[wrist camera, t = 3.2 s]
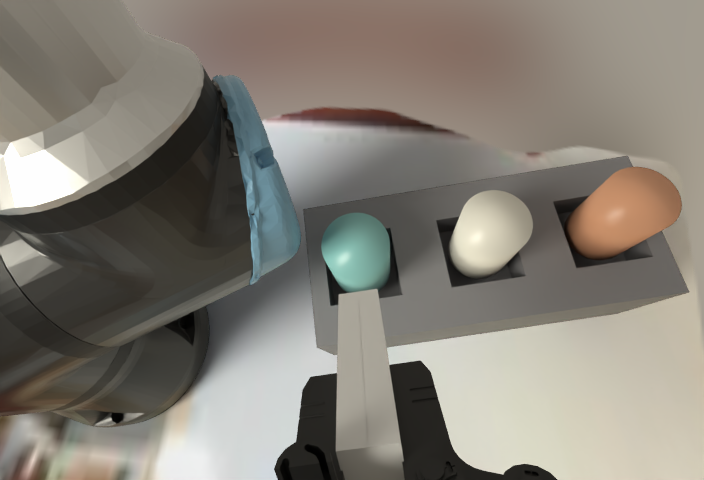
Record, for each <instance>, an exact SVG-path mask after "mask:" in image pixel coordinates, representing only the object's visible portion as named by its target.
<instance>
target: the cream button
mask: <svg viewBox="0 0 704 480" xmlns="http://www.w3.org/2000/svg"><path fill="white" fill-rule="evenodd" d="M532 230H533V220H532V216H531V213H530V211H529V209H528V208H527V206H526V205H525V204H524V203H523V202H522V201H521V200H520V199H519V198H517V197H516V196H514V195H512V194H510V193H507V192H504V191H499V190H489V191H483V192H480V193H478V194H476V195H474V196H473V197H471V198H470V199H469V200H468V201H467V202H466V204H465V205H464V207H463V209H462V212H461V214H460V217H459V219H458V222H457V224H456V226H455V229H454V231H453V234H452V236H451V239H450V241H449V244H448V256H449V259H450V261H451V263H452V265H453V266H454V267H455V269H456V270H457V271H459V272H460V273H461V274H463V275H465V276H467V277H470V278H474V279H484V278H488V277H491V276H493V275H495V274H496V273H498V272H499V271H500V270H501V269H502V268H503V267H504V266H505V265H506V264H507V263H508V262H509V260H510V259H511V258H512V257H513V256H514V255H515V254H516V253H517V252H518V251H519V250H520V249H521V248H522V247H523V246H524V245H525V244H526V243H527V242H528V240H529V238H530V237H531V234H532Z"/></svg>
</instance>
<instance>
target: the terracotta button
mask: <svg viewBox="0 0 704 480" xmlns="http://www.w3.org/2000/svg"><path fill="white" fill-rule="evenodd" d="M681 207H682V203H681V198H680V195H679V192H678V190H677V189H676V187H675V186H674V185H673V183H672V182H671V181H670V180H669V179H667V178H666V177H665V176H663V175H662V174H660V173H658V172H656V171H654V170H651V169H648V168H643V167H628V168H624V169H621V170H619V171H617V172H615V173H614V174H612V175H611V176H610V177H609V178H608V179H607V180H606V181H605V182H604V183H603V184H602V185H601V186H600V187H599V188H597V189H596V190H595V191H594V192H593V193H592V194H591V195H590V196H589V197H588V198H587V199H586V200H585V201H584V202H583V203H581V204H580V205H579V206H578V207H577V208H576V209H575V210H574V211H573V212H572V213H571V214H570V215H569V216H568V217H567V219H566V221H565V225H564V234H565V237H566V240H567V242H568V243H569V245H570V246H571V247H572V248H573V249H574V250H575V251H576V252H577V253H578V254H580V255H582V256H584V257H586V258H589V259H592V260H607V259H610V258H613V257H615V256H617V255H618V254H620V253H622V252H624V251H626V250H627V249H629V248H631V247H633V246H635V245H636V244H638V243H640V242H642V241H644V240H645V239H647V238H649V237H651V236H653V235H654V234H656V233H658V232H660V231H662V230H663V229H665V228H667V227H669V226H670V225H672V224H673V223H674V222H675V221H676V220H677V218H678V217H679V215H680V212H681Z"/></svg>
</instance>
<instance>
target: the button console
mask: <svg viewBox="0 0 704 480" xmlns="http://www.w3.org/2000/svg"><path fill="white" fill-rule="evenodd" d="M628 167H633V166H632V164H631V162H630V160H629V157H628V156H623V157H617V158H611V159H605V160H599V161H593V162H587V163H581V164H575V165H569V166H563V167H557V168H551V169H545V170H539V171H532V172H526V173H520V174H514V175H508V176H502V177H496V178H490V179H484V180H478V181H472V182H466V183H460V184H454V185H448V186H442V187H436V188H429V189H423V190H417V191H411V192H405V193H399V194H393V195H387V196H381V197H375V198H369V199H363V200H357V201H351V202H345V203H339V204H332V205H326V206H320V207H314V208H308V209H303V211H304V221H305V231H306V242H307V252H308V262H309V272H310V283H311V293H312V303H313V313H314V323H315V334H316V344H317V348H320V349H322V350H324V351H326V352H329V353H331V354H333V355H337V354H338V301H339V294H345V293H347V292H345V291H344V290H343V289H342V288H341V287H340V286H339V284H338V283H337V281H336V279H335V277H334V276H333V274H332V272H331V270H330V269H329V267H328V265H327V263H326V261H325V259H324V257H323V254H322V249H321V244H322V238H323V235H324V232H325V231H326V229H327V227H328V226H329V225H330V224H331V223H332V222H333V221H334V220H335V219H337V218H338V217H340V216H342V215H345V214H349V213H364V214H368V215H371V216H373V217H374V218H376V219H377V220H379V221H380V222H381V223H382V224H383V226H384V227H385V229H386V230H387V233H388V235H389V240H390V276H389V279H388V281H387V283H386V285H385V286H384V287H383V288H382V289H381V290H380V291H379V292H378V296H379V302H380V309H381V315H382V321H383V328H384V334H385V341H386V347H393V346H400V345H406V344H413V343H420V342H427V341H434V340H440V339H447V338H454V337H461V336H468V335H475V334H481V333H488V332H495V331H502V330H509V329H515V328H522V327H529V326H536V325H543V324H549V323H556V322H563V321H570V320H577V319H584V318H590V317H597V316H604V315H611V314H618V313H621V312H624V311H628V310H631V309H634V308H638V307H641V306H645V305H648V304H651V303H655V302H658V301H661V300H665V299H668V298H671V297H675V296H678V295H682V294H685V293H688V292H689V290H688V288H687V286H686V284H685V281H684V279H683V277H682V275H681V273H680V270H679V268H678V266H677V264H676V261H675V259H674V257H673V255H672V253H671V250H670V248H669V246H668V244H667V242H666V239H665V237H664V235H663V233H662V231H660V232H658V233H656V234H654V235H653V236H651V237H649V238H647V239H645V240H644V241H642V242H640V243H638V244H636V245H635V246H633V247H631V248H629V249H627V250H626V251H624V252H622V253H620V254H618V255H617V256H615V257H613V258H610V259H607V260H592V259H589V258H586V257H584V256H582V255H580V254H578V253H577V252H576V251H575V250H574V249H573V248H572V247H571V246H570V245H569V243H568V242H567V240H566V237H565V234H564V225H565V221H566V219H567V217H568V216H569V215H570V214H571V213H572V212H573V211H574V210H575V209H576V208H577V207H578V206H579V205H580V204H581V203H583V202H584V201H585V200H586V199H587V198H588V197H589V196H590V195H591V194H592V193H593V192H594V191H595V190H596V189H597V188H599V187H600V186H601V185H602V184H603V183H604V182H605V181H606V180H607V179H608V178H609V177H610V176H611V175H612V174H614V173H615V172H617V171H619V170H621V169H624V168H628ZM489 190H499V191H504V192H507V193H510V194H512V195H514V196H516V197H517V198H519V199H520V200H521V201H522V202H523V203H524V204H525V205H526V206H527V208H528V209H529V211H530V213H531V216H532V220H533V230H532V234H531V237H530V238H529V240H528V242H527V243H526V244H525V245H524V246H523V247H522V248H521V249H520V250H519V251H518V252H517V253H516V254H515V255H514V256H513V257H512V258H511V259H510V260H509V262H508V263H507V264H506V265H505V266H504V267H503V268H502V269H501V270H500V271H499V272H498V273H496V274H495V275H493V276H491V277H488V278H484V279H474V278H470V277H467V276H465V275H463V274H461V273H460V272H459V271H457V270H456V269H455V267H454V266H453V265H452V263H451V261H450V259H449V256H448V244H449V241H450V239H451V236H452V234H453V231H454V229H455V226H456V224H457V222H458V219H459V217H460V214H461V212H462V209H463V207H464V205H465V204H466V202H467V201H468V200H469V199H470V198H471V197H473V196H474V195H476V194H478V193H480V192H483V191H489Z"/></svg>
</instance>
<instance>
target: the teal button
mask: <svg viewBox="0 0 704 480" xmlns="http://www.w3.org/2000/svg"><path fill="white" fill-rule="evenodd" d="M321 249H322V254H323V257H324V259H325V261H326V263H327V265H328V267H329V269H330V270H331V272H332V274H333V276H334V277H335V279H336V281H337V283H338V284H339V286H340V287H341V288H342V289H343V290H344V291H345V292H347V293H352V292H358V291H365V290H372V289H378V292H379V291H380V290H381V289H382V288H383V287H384V286H385V285H386V283H387V281H388V279H389V276H390V240H389V235H388V233H387V230H386V229H385V227H384V226H383V224H382V223H381V222H380V221H379V220H377V219H376V218H374V217H373V216H371V215H368V214H364V213H349V214H345V215H342V216H340V217H338V218H337V219H335V220H334V221H333V222H332V223H331V224H330V225H329V226H328V227H327V229H326V231H325V232H324V235H323V238H322V244H321Z"/></svg>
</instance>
